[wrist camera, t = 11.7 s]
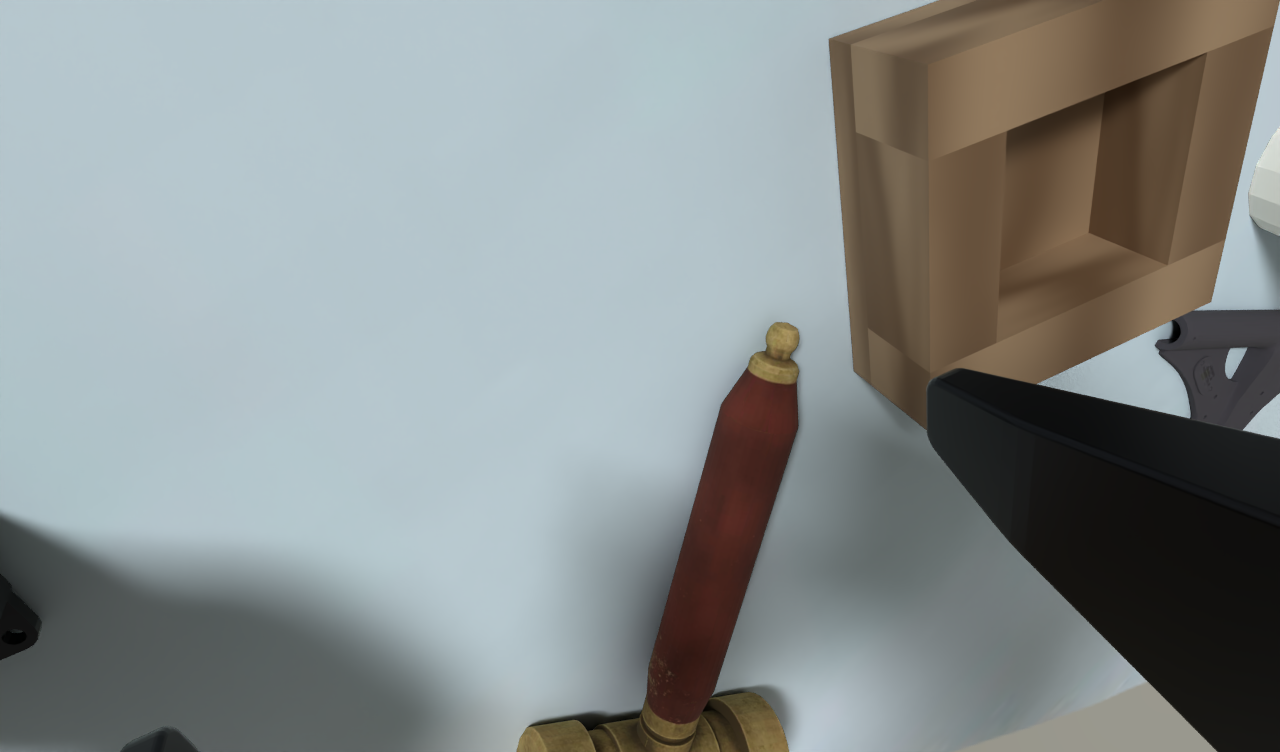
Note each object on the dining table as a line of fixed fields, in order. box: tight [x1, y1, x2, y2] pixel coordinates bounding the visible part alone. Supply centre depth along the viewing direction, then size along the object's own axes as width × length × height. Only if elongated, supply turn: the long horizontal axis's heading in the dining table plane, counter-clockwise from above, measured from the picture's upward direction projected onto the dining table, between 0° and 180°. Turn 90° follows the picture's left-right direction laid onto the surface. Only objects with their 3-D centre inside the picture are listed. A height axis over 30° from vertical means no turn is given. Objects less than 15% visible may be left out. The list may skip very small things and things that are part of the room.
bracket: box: [1155, 310, 1280, 430], centre depth 38 cm, size 14×15×3 cm
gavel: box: [517, 322, 799, 752], centre depth 28 cm, size 21×5×10 cm
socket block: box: [829, 0, 1280, 430], centre depth 24 cm, size 11×11×4 cm
